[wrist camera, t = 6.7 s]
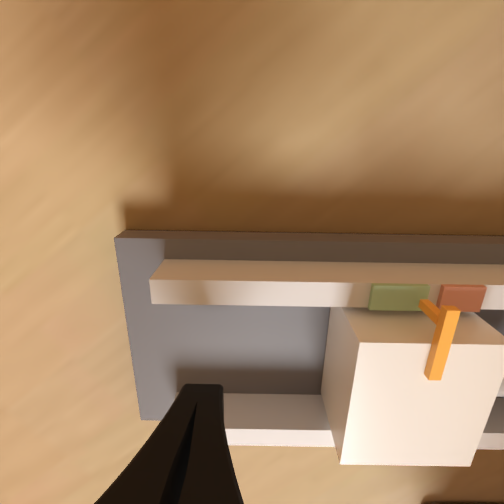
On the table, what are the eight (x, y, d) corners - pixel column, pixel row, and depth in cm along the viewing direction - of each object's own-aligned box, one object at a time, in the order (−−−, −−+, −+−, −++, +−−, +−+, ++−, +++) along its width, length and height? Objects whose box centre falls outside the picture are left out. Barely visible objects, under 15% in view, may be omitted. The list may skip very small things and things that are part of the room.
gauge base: (617, 237, 14) (821, 291, 9) (540, 408, 17) (656, 515, 12) (125, 229, 14) (53, 279, 9) (148, 401, 17) (105, 506, 12)
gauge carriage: (523, 263, 13) (633, 313, 9) (478, 394, 15) (550, 475, 11) (336, 260, 13) (369, 309, 9) (320, 391, 15) (342, 472, 11)
